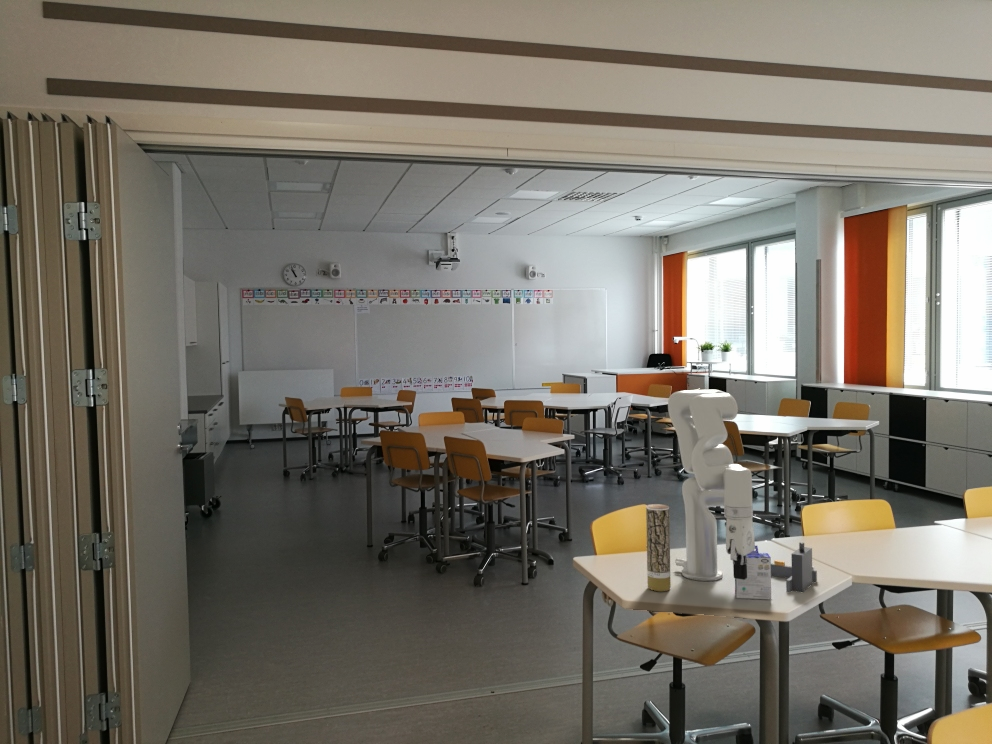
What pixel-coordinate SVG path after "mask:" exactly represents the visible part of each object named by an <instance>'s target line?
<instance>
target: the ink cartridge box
mask: <svg viewBox="0 0 992 744" xmlns="http://www.w3.org/2000/svg"><path fill="white" fill-rule="evenodd" d="M771 558H772V557H771V556H770V554H769V553H766V552H759V547H758V545H755V549H754V551H752V552H751V553H749V554H747V578H746V579H745V580H743V579H736V578H734V594H735V598H736V599H752V600H753V599H754V600H772V575H771V563H772V561H771Z"/></svg>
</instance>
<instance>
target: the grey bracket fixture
mask: <svg viewBox="0 0 992 744" xmlns="http://www.w3.org/2000/svg"><path fill="white" fill-rule="evenodd" d="M798 546H799V547H798V549H796V550H795V551H793V552H792V553H791V566H789V565H786V561H783V560H782V561H781V560H774V562H773V563H772V562H771V576H774V577H779V576H780V578H785V577H786V578H787V579H786V580H785V581H786V583H785V584H786V585H785V588H786V593H792V592H796V591H797V592H796V593H801V592H803V593H804V592H805V591H806V590H807V589H809V588H810V587H811V586H812V585H813V583H814V582H816V583H817V582H818V571H817V570H815V566H814V565H813V548H812V547H807V546H805V542H801V541H800V542H798ZM810 585H811V586H810ZM809 586H810V587H809ZM808 587H809V588H808Z"/></svg>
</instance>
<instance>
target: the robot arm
mask: <svg viewBox="0 0 992 744" xmlns="http://www.w3.org/2000/svg"><path fill="white" fill-rule="evenodd" d="M738 407H739V406H738V403H737V401H736V399H735V397H734V396H733V395H732V394H730V393H729V392H725V391H722V390H719V389H690V390H688V389H687V390H686V389H685V390H680V391H679V390H678V391H675V392H673V393H672V394H670V396H669V398H668V401H667V411H668V415H669V419H670V421H671V424H672V426H673V428H674V430H675V432H676V435H677V441H678V442H677V443H678V446H679V448H678V449H679V453H680V459H681V464H682V467H683V470H684V471H685V472H686V473H688V474H693V475H694V476H692V477H688V478H687V479H685V480H684V481H683V483H682V485H681V486H682V487H681V493H682V499H683V504H684V511H685V512H684V514H685V515H684V516H685V545H686V546H685V551H686V552H685V553H686V555H685V556H686V557H685V559H684V558H680V557H679V558H678V557H676V558H675V566H677V567H682V569H681V575H682V576H683V577H684V578H686V579H689V580H694V581H703V582H711V581H717V580H720V579H722V578H723V574H724V573H723V571H721V570H720V569H718V530H717V529H718V528H717V527H718V524H717V519H716V517H715V516H714V514H713V513H712V512H711V511H710V509H709V508H711V507H713V508H714V507H724V508H723V509H724V510H723V511H724V512H723V513H724V514H723V515H724V518H725V519H726V521H725V522H726V523H725V548H726V550H725V551H726V553H727V555H730V557H729V558H730V560H731V561H732V567H733V568H732V569H733V578H734V579H735V578H736V579H743V580H745V579H746V578H747V554H749V553H751V552H752V551H755V550H756V549H755V546H756V542H755V540H756V539H755V529H754V522H753V518H754V510H753V479H752V477H753V476H752V471H751V469H749V468H747V467H744V466H742V465H741V464H738V463H734V459H733V455H732V452H731V450H730V449H729V447H728V446H727V445H726V444H724V442H725V441H727V439H728V436H729V435H728V430H727V428H726V426H725V423H724V422H725V421H733V420H734V419H736V418H737V415H738V413H739V412H738V410H739V409H738Z"/></svg>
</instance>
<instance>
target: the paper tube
mask: <svg viewBox="0 0 992 744" xmlns="http://www.w3.org/2000/svg"><path fill="white" fill-rule="evenodd" d="M645 510H646V511H645V512H646V513H645V514H646V515H645V516H646V519H645V520H646V521H645V522H646V563H647V564H646V566H647V567H646V569H647V572H646V573H647V574H646V575H647V588H648V589H649V590H650V589H651V591H653V590H654V591H653V592H667V591H669V590H670V589H671V538H670V536H671V535H670V534H671V533H670V531H671V529H670V527H671V526H670V506H669V505H667V504H661V503H654V504H653V503H651V504H647V505H646V507H645Z"/></svg>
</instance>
